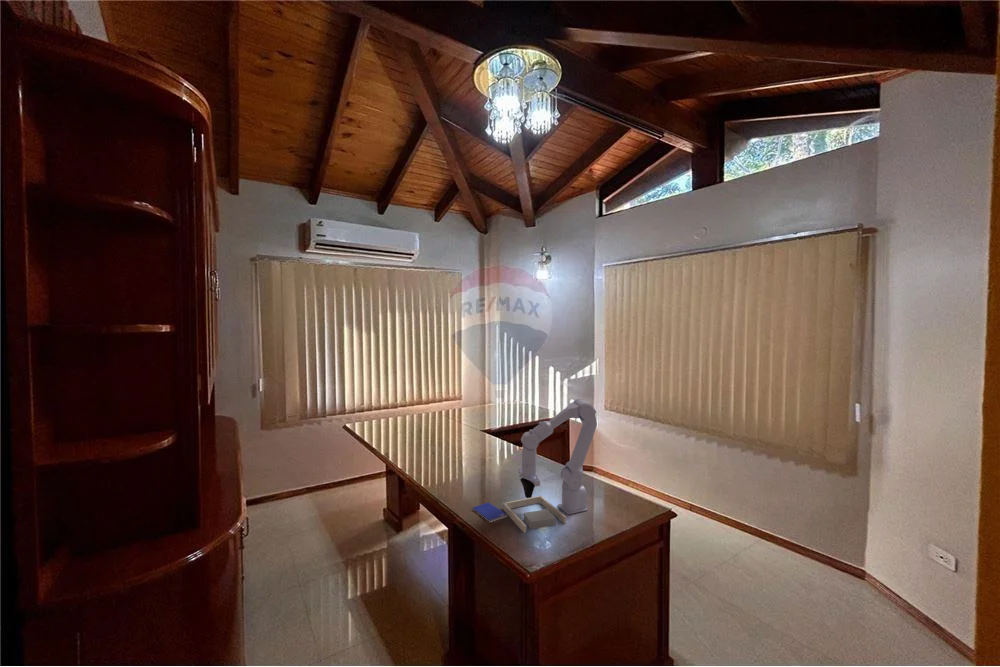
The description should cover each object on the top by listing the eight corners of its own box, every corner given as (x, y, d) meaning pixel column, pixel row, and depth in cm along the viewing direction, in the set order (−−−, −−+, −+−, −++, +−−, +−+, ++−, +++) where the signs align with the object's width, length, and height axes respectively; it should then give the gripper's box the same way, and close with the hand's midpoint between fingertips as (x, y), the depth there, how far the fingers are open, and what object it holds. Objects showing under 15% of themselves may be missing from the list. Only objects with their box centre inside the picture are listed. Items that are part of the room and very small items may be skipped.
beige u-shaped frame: (540, 501, 158) (540, 495, 158) (566, 523, 141) (566, 516, 141) (502, 509, 152) (502, 502, 151) (524, 532, 134) (524, 525, 134)
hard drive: (507, 514, 146) (489, 501, 156) (490, 520, 141) (472, 507, 151) (507, 518, 146) (489, 505, 156) (490, 524, 141) (472, 511, 151)
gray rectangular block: (547, 516, 147) (547, 509, 146) (555, 525, 140) (555, 518, 140) (523, 520, 144) (523, 512, 143) (530, 530, 137) (530, 521, 137)
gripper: (512, 458, 155) (511, 491, 155) (528, 471, 141) (527, 506, 142) (527, 456, 158) (526, 488, 158) (544, 468, 144) (544, 503, 144)
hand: (528, 497), depth 150 cm, fingers closed
